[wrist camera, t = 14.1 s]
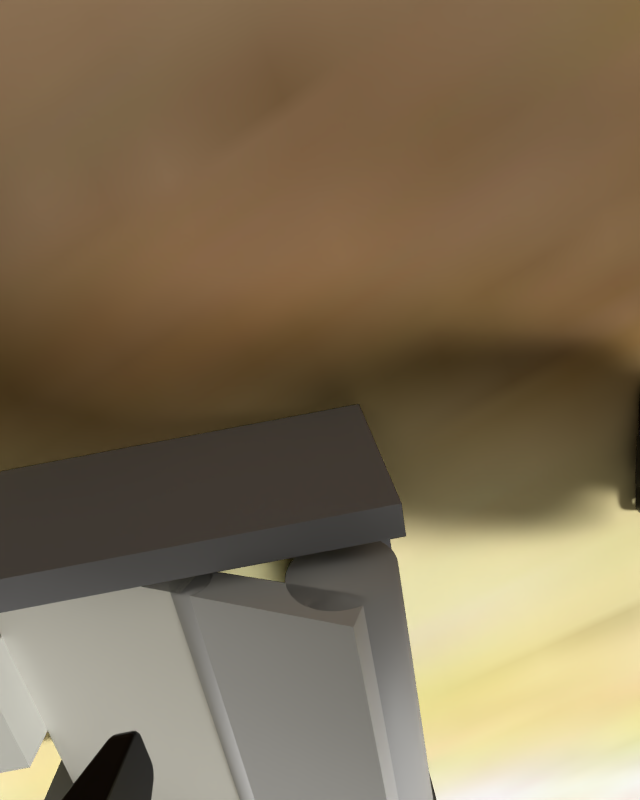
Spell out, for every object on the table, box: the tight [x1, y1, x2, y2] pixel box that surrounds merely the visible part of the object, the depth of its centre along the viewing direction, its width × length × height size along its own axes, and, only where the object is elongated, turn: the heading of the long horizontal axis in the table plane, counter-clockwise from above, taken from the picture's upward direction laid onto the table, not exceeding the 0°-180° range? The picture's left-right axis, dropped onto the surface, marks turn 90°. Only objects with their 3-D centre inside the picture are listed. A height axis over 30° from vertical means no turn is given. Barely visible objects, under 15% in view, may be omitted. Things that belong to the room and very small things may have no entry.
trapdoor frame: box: [0, 404, 436, 800], centre depth 19 cm, size 16×15×8 cm
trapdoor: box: [0, 541, 433, 800], centre depth 17 cm, size 16×12×3 cm
